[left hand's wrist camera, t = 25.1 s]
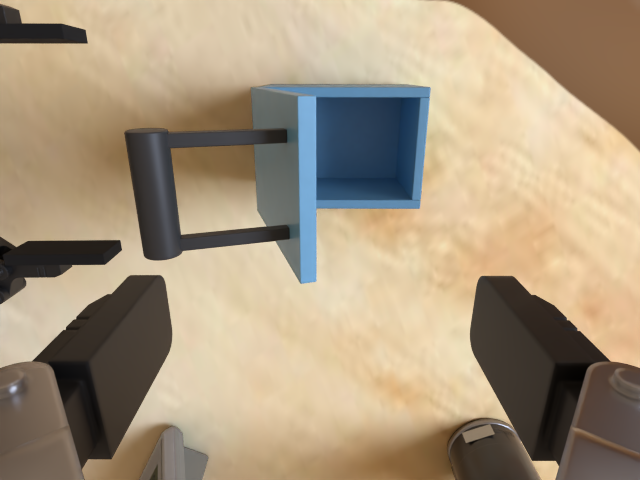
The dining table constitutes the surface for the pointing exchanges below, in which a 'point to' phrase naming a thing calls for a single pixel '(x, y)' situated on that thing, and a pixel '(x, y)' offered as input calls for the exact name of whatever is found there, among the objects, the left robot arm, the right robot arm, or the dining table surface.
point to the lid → (271, 181)
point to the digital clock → (174, 459)
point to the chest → (368, 143)
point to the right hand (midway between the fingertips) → (96, 152)
